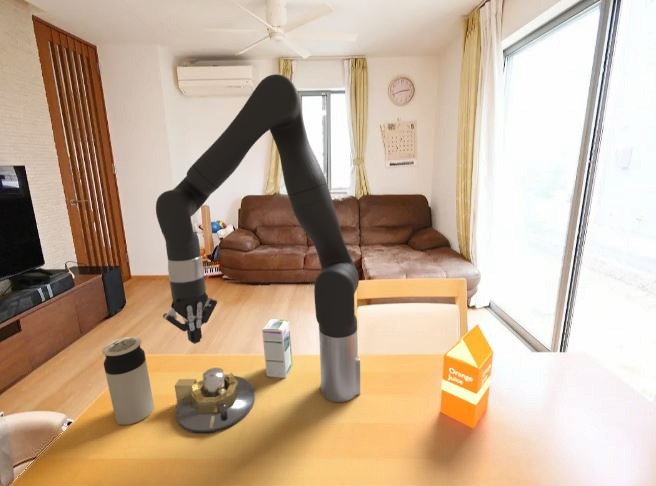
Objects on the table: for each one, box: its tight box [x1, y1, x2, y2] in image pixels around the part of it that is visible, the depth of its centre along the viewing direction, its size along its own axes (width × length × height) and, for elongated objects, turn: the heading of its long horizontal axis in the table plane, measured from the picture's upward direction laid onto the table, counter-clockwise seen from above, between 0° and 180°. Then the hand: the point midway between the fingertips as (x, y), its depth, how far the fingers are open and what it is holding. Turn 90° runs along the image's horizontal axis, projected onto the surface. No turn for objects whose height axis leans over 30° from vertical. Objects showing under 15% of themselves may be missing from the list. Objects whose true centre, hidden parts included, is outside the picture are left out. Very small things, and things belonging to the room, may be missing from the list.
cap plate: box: [175, 367, 256, 435], centre depth 80 cm, size 18×18×8 cm
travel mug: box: [101, 336, 155, 426], centre depth 77 cm, size 8×8×18 cm
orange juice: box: [440, 323, 494, 429], centre depth 75 cm, size 8×9×20 cm
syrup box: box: [261, 318, 293, 379], centre depth 91 cm, size 6×6×14 cm
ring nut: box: [174, 372, 239, 414], centre depth 80 cm, size 14×10×4 cm
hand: (195, 341), depth 82 cm, fingers closed
